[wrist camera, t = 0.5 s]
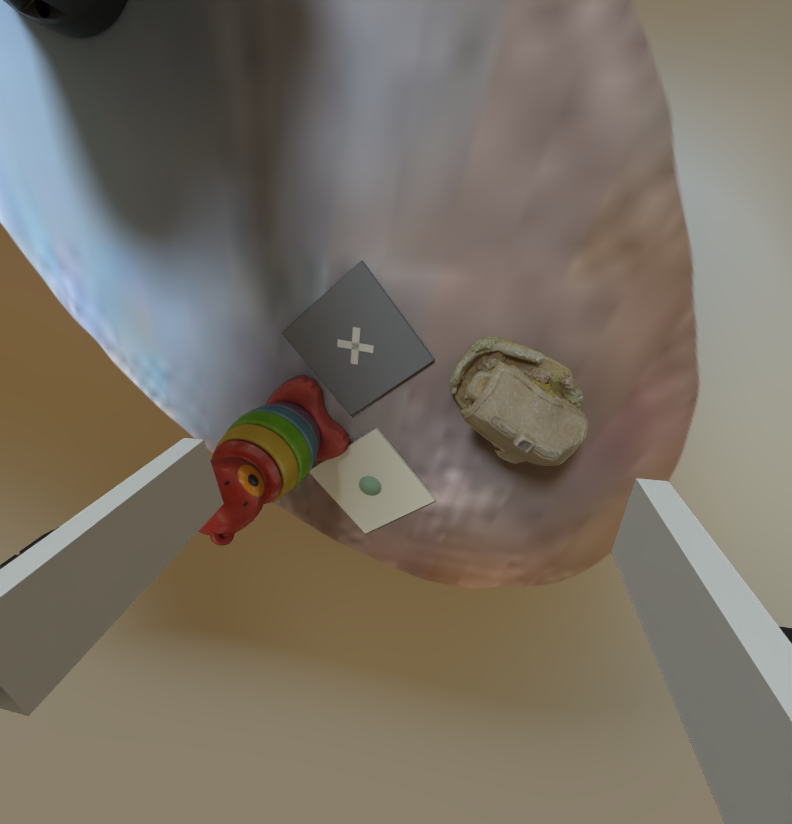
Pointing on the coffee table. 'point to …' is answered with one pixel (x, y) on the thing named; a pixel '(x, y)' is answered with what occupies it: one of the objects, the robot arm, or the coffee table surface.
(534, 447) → the beige lumpy chunk
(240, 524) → the stacking bear
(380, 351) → the pad
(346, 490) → the pad
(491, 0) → the coffee table surface
